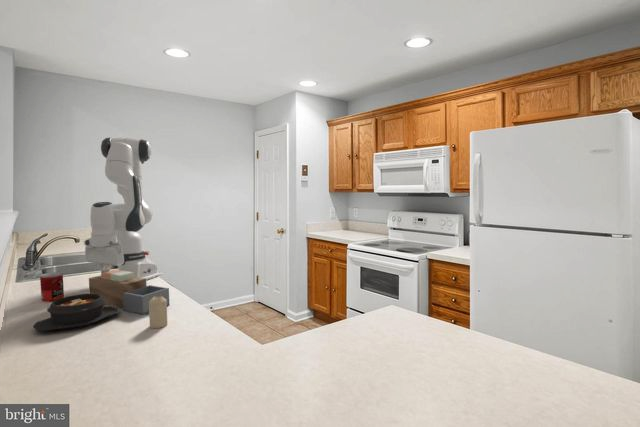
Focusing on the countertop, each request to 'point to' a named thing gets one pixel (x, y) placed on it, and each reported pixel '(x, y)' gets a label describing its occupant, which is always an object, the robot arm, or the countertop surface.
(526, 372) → the countertop surface
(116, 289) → the brown wooden block
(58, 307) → the casserole
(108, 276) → the tile terracotta
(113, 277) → the tile sage
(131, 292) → the box
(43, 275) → the canned food
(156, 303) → the candle
